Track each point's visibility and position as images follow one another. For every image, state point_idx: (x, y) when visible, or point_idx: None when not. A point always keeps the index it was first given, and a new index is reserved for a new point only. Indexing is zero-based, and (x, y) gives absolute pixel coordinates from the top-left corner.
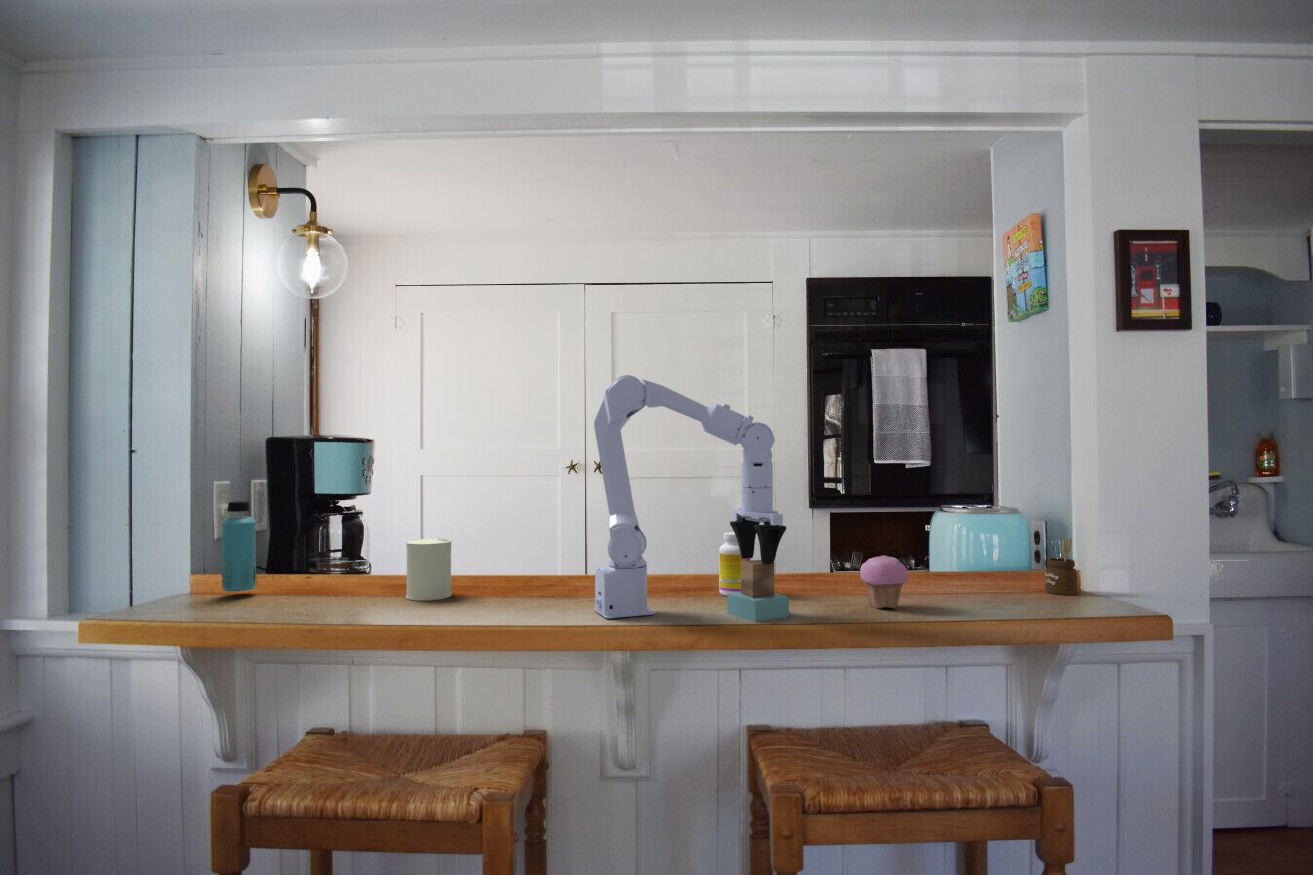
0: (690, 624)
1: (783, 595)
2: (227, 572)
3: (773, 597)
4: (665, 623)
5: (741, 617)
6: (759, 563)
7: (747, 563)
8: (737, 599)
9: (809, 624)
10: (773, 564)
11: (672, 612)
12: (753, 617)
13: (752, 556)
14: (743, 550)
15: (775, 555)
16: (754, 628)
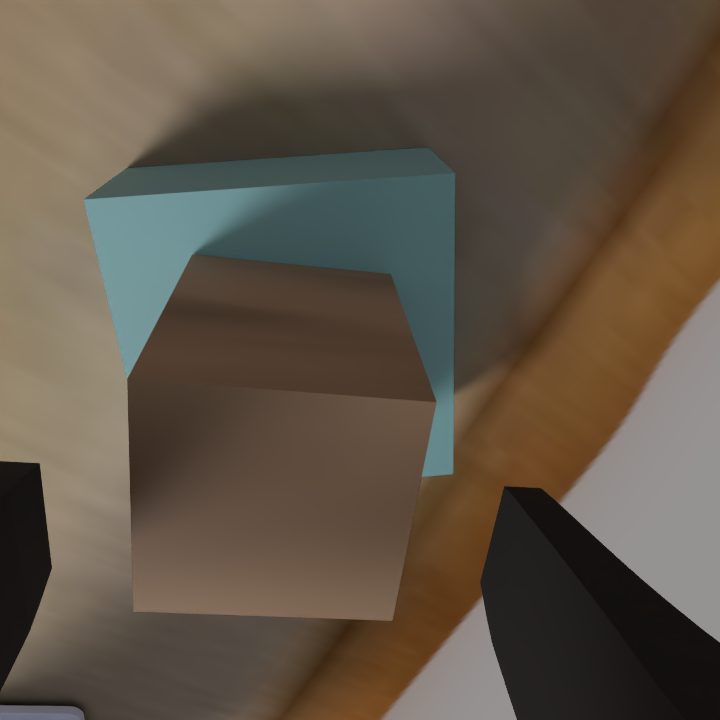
0: (314, 651)
1: (403, 190)
2: None
3: (423, 306)
4: (249, 714)
5: None
6: (364, 539)
7: (281, 612)
8: None
9: (659, 173)
10: (432, 407)
11: (47, 628)
12: None
13: (33, 477)
14: (6, 642)
15: (595, 541)
16: (534, 473)
